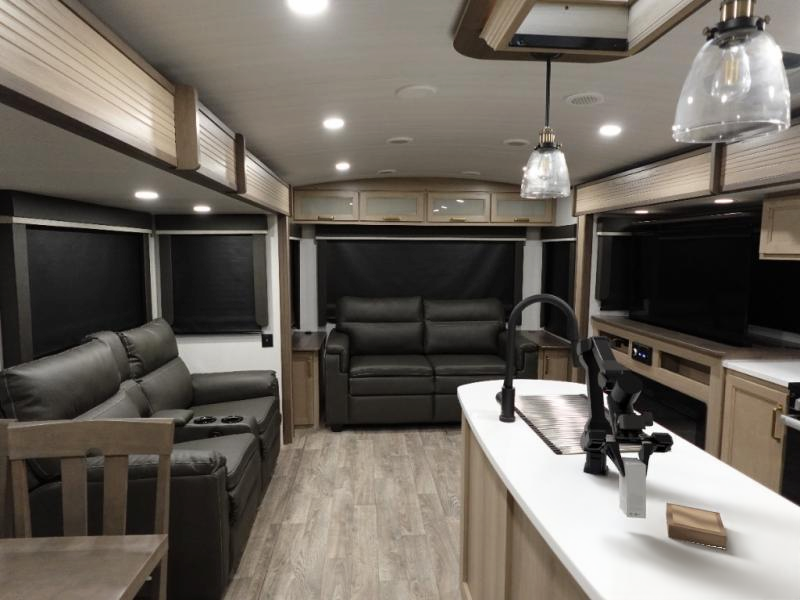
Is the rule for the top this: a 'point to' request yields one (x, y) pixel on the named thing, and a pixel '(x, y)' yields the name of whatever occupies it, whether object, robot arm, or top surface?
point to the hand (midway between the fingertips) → (634, 476)
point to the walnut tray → (695, 525)
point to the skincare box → (633, 488)
